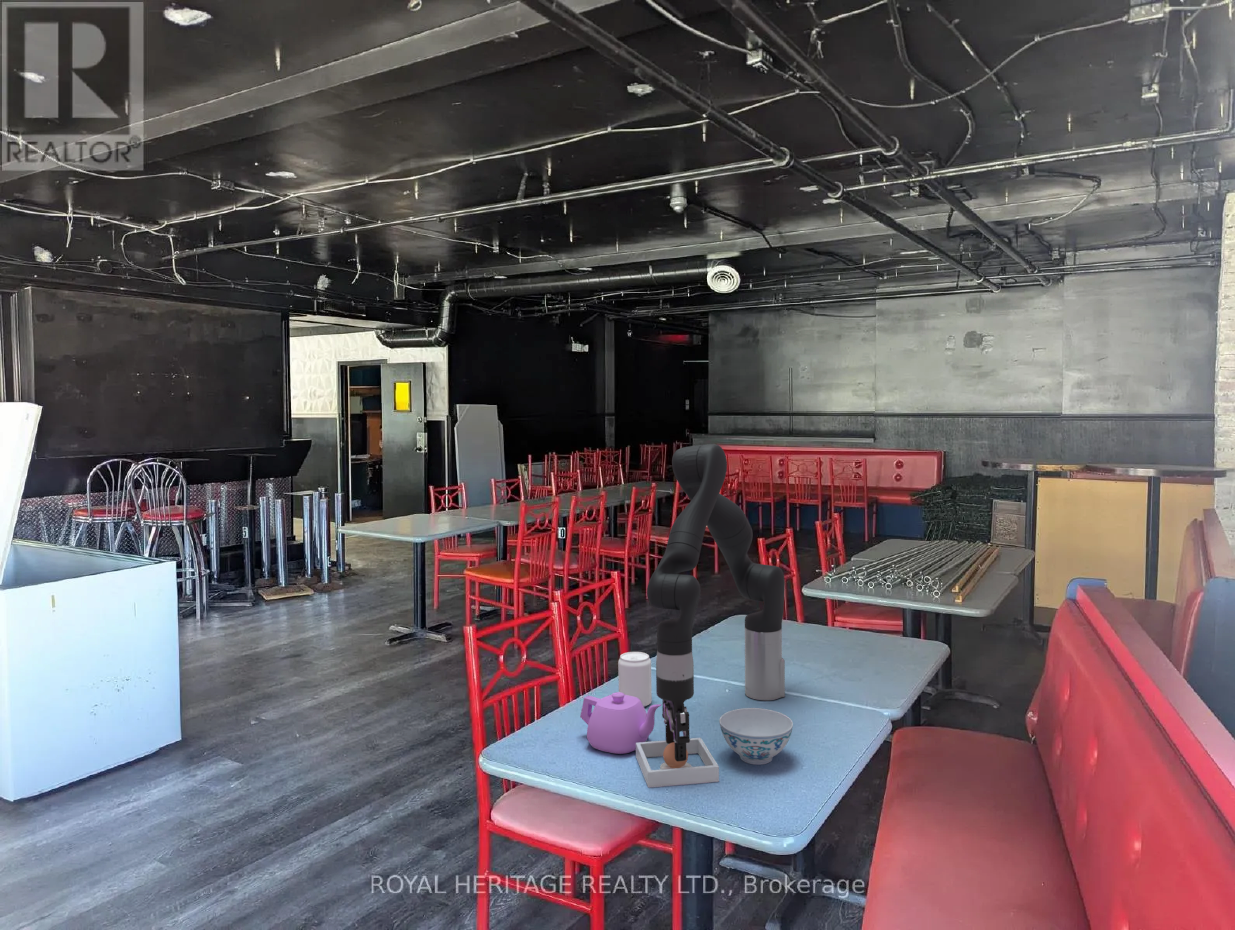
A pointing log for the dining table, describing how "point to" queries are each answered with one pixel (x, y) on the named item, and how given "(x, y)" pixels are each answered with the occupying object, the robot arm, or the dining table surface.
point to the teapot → (617, 722)
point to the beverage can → (635, 676)
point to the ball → (673, 757)
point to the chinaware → (756, 733)
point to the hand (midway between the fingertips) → (675, 751)
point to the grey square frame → (677, 774)
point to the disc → (665, 766)
